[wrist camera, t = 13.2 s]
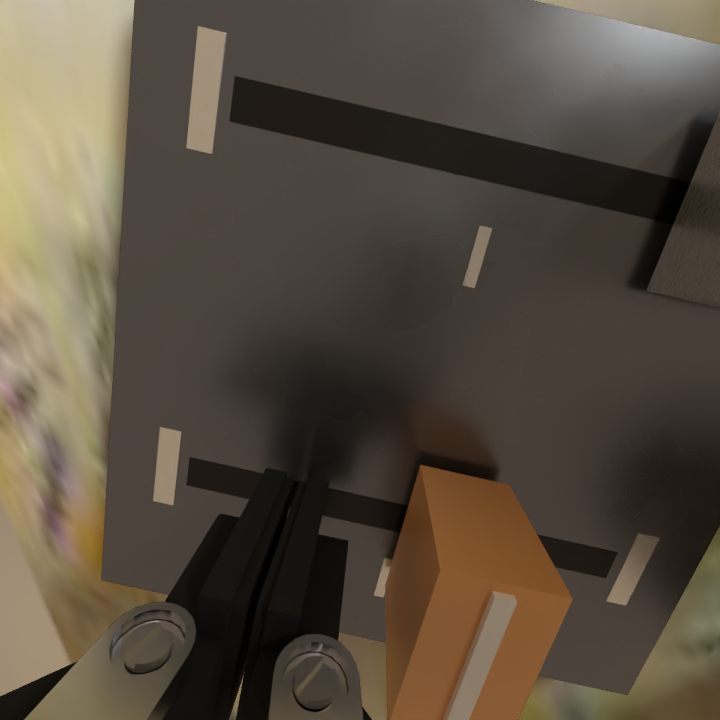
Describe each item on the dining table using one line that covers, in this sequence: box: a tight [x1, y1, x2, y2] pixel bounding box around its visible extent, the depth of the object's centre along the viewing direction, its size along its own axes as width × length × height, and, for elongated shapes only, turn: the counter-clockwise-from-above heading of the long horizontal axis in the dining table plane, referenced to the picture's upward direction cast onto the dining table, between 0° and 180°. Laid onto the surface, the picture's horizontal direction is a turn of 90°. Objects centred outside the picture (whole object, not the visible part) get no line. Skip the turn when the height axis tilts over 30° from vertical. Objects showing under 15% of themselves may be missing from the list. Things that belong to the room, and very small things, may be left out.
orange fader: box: [385, 465, 573, 720], centre depth 9 cm, size 2×4×4 cm, turn 167°
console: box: [101, 0, 720, 695], centre depth 11 cm, size 17×17×2 cm
